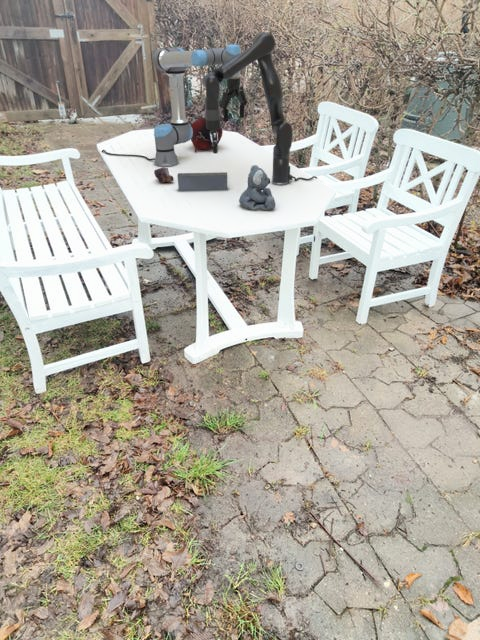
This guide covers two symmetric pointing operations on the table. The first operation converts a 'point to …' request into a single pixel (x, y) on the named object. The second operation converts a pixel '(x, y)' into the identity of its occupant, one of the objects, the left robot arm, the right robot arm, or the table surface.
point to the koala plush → (257, 191)
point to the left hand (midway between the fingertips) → (234, 119)
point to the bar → (202, 181)
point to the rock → (163, 175)
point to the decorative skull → (202, 135)
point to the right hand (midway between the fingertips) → (214, 151)
